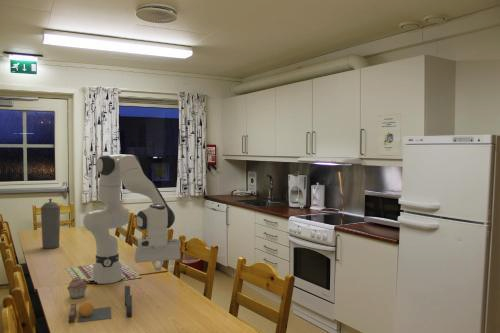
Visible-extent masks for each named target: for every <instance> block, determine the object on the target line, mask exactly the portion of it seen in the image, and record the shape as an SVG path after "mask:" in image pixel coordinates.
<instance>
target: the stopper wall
mask: <svg viewBox="0 0 500 333" xmlns="http://www.w3.org/2000/svg"><path fill="white" fill-rule="evenodd" d="M69 308H70V309H69V312H68V313H69V314H68V324H73V323H75V319H76V313H77V303H70V307H69Z"/></svg>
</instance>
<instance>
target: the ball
mask: <svg viewBox="0 0 500 333" xmlns="http://www.w3.org/2000/svg"><path fill="white" fill-rule="evenodd" d="M93 309H94V306H93V304H92V303H91V302H88V301H85V302H82V303H81V304H80V305H79V307H78V311H77V312H78V315H79V314H80V315H81V316H83V317H87V316H90V315H91V314H92V312H93Z"/></svg>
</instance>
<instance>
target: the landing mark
mask: <svg viewBox="0 0 500 333" xmlns="http://www.w3.org/2000/svg"><path fill="white" fill-rule="evenodd" d="M111 312H112V310H111V306H107V307H99V308H97V307H96V308H93V312H92V314H91V315H90V316H87V317H83V316H81V315H80V314H79V313H78V320H77V323H84V322H93V321H100V320H101V321H102V320H109V319H112V317H111V316H112V313H111Z"/></svg>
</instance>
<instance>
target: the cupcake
mask: <svg viewBox="0 0 500 333" xmlns="http://www.w3.org/2000/svg"><path fill="white" fill-rule="evenodd" d="M86 282H87V281H85V280H84V279H83V278H81V277H79V276H78V275H77V276H74V277H73V278H72V280H71V281H69V284H68V286H67V287H66V289H67V291H68V295H69V297H70V298H71V299H74V298H76V299H81V298H83V297H85V293H86V290H87V288H88V285H87V283H86Z"/></svg>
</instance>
